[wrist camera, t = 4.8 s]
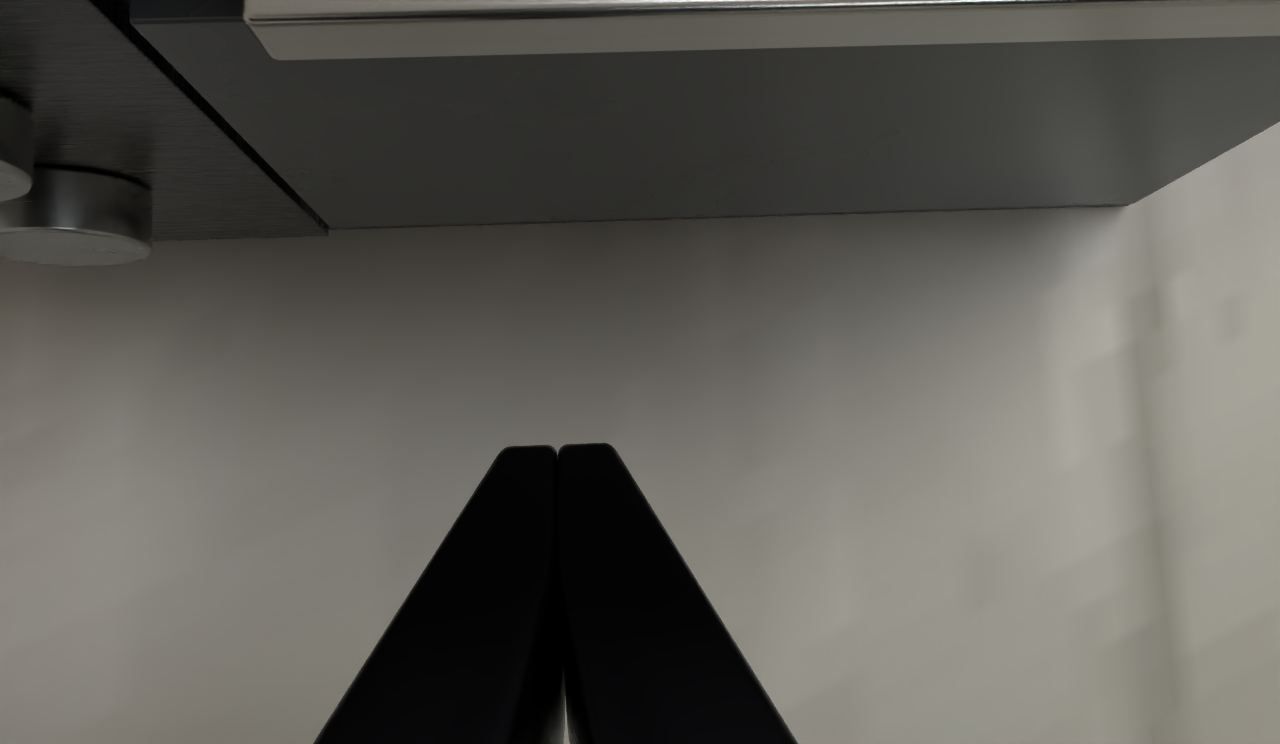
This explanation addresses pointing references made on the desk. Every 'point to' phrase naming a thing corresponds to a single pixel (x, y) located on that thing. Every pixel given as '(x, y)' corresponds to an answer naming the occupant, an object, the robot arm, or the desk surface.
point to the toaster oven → (599, 111)
